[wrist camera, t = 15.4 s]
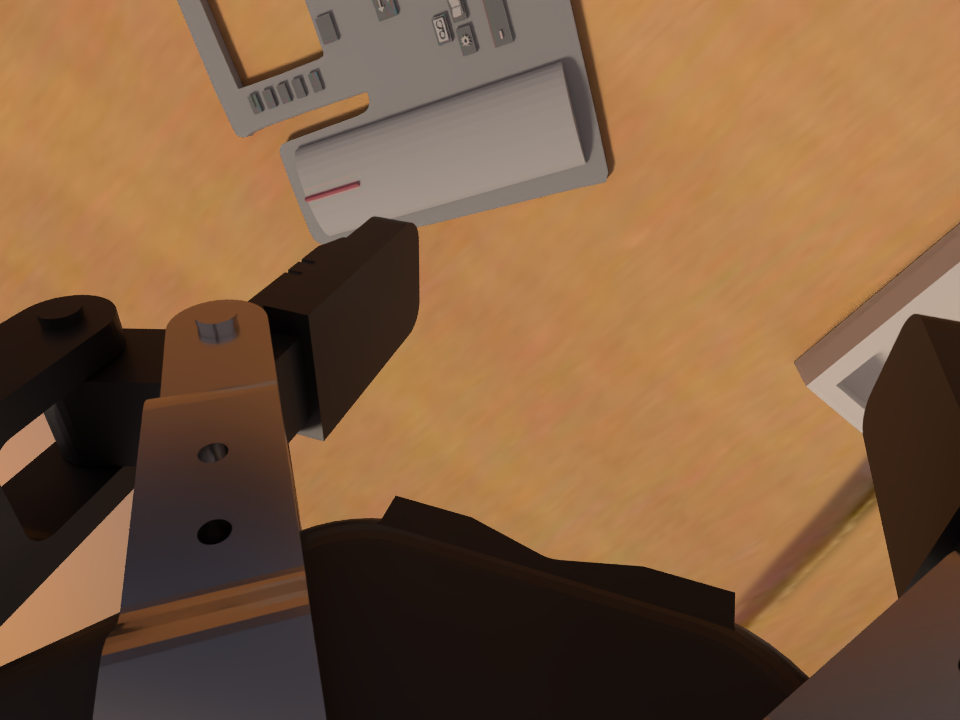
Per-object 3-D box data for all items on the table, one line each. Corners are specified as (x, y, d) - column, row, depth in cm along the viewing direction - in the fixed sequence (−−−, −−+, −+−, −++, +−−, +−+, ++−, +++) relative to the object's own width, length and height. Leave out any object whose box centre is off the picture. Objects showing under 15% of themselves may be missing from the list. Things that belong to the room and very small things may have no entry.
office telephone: (613, 184, 34) (279, 274, 40) (614, 175, 36) (298, 261, 42) (478, -414, 25) (81, -187, 31) (491, -376, 28) (119, -171, 34)
